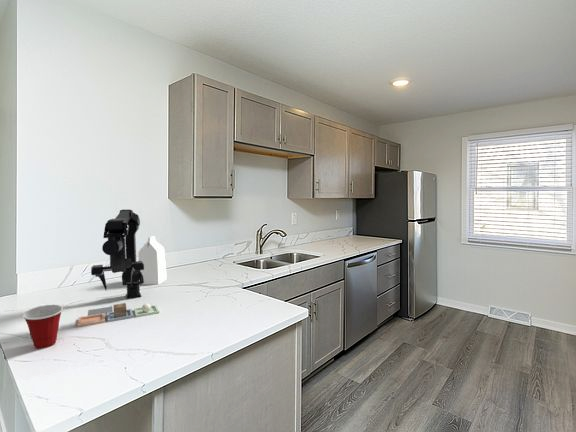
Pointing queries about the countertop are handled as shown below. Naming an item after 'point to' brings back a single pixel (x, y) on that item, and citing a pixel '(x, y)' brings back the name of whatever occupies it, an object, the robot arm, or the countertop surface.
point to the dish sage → (140, 312)
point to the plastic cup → (43, 324)
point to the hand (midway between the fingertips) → (119, 288)
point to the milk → (153, 262)
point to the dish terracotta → (91, 320)
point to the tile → (100, 311)
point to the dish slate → (111, 317)
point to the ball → (146, 307)
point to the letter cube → (119, 310)
